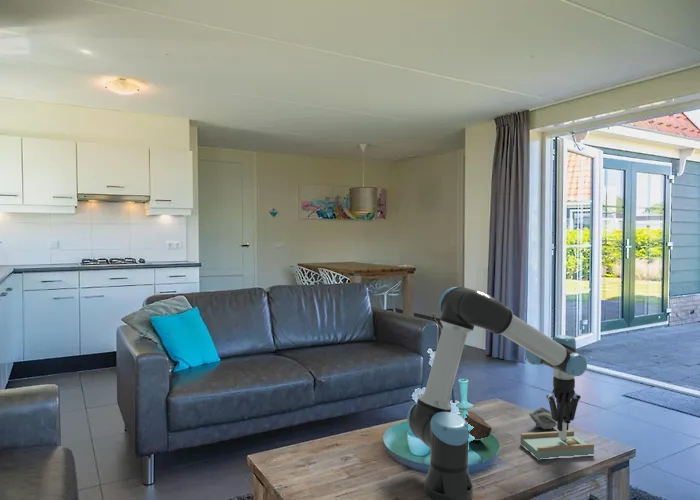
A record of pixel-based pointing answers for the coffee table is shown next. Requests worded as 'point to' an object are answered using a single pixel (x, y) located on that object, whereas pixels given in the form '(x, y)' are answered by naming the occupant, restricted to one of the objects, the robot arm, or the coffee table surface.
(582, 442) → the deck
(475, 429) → the rock
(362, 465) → the coffee table surface
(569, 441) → the ball
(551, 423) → the fossil
